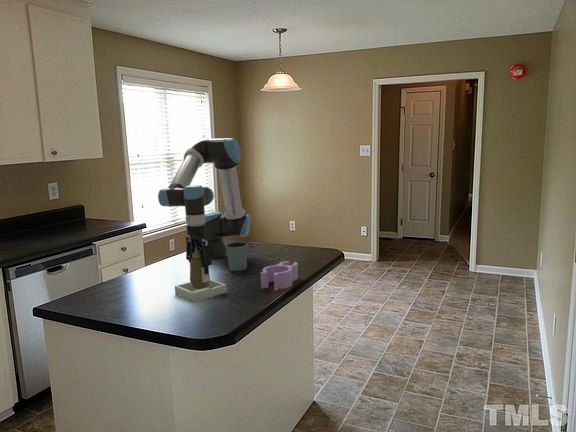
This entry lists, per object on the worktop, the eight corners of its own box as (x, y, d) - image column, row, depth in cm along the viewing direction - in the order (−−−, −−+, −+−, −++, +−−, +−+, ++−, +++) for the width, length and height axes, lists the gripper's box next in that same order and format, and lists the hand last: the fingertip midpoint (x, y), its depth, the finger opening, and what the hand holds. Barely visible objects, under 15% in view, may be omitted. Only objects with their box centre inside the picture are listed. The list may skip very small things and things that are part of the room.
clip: (280, 274, 211) (280, 260, 209) (304, 278, 204) (304, 263, 203) (256, 288, 194) (255, 272, 192) (281, 292, 187) (280, 275, 186)
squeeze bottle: (208, 290, 184) (205, 246, 181) (188, 290, 184) (184, 246, 181) (212, 283, 192) (209, 241, 189) (192, 284, 192) (189, 242, 189)
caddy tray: (175, 294, 189) (174, 286, 189) (206, 285, 199) (206, 277, 198) (194, 302, 178) (194, 294, 178) (226, 293, 188) (226, 284, 188)
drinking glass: (250, 265, 227) (248, 241, 225) (246, 271, 217) (244, 246, 215) (229, 265, 228) (228, 242, 226) (225, 271, 219) (223, 246, 216)
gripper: (174, 223, 189) (178, 276, 193) (202, 229, 174) (206, 287, 178) (190, 220, 194) (194, 272, 198) (218, 226, 179) (222, 282, 183)
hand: (200, 279), depth 188 cm, fingers closed on squeeze bottle, 8 cm apart
